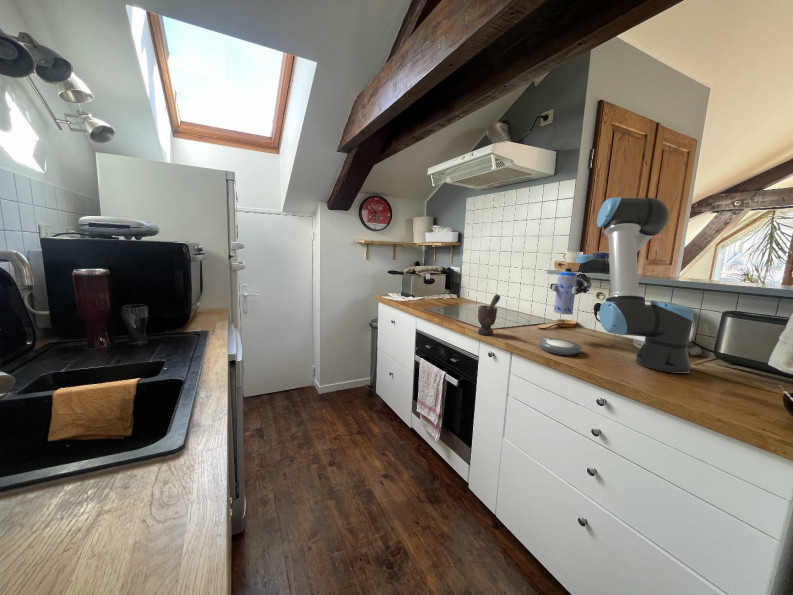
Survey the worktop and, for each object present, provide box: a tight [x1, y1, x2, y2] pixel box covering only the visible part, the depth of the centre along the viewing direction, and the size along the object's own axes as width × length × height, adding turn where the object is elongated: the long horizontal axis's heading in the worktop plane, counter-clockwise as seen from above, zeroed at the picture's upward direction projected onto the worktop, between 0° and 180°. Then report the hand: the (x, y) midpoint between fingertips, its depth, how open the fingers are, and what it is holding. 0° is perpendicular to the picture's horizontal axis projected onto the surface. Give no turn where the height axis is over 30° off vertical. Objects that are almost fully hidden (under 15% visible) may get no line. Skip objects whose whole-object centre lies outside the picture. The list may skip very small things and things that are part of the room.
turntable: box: [538, 337, 582, 354], centre depth 124 cm, size 15×15×2 cm
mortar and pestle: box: [476, 294, 501, 336], centre depth 144 cm, size 12×9×20 cm
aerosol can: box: [552, 267, 577, 316], centre depth 137 cm, size 8×8×20 cm
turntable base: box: [542, 347, 577, 357], centre depth 125 cm, size 12×12×1 cm
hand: (562, 289), depth 133 cm, fingers closed on aerosol can, 7 cm apart
